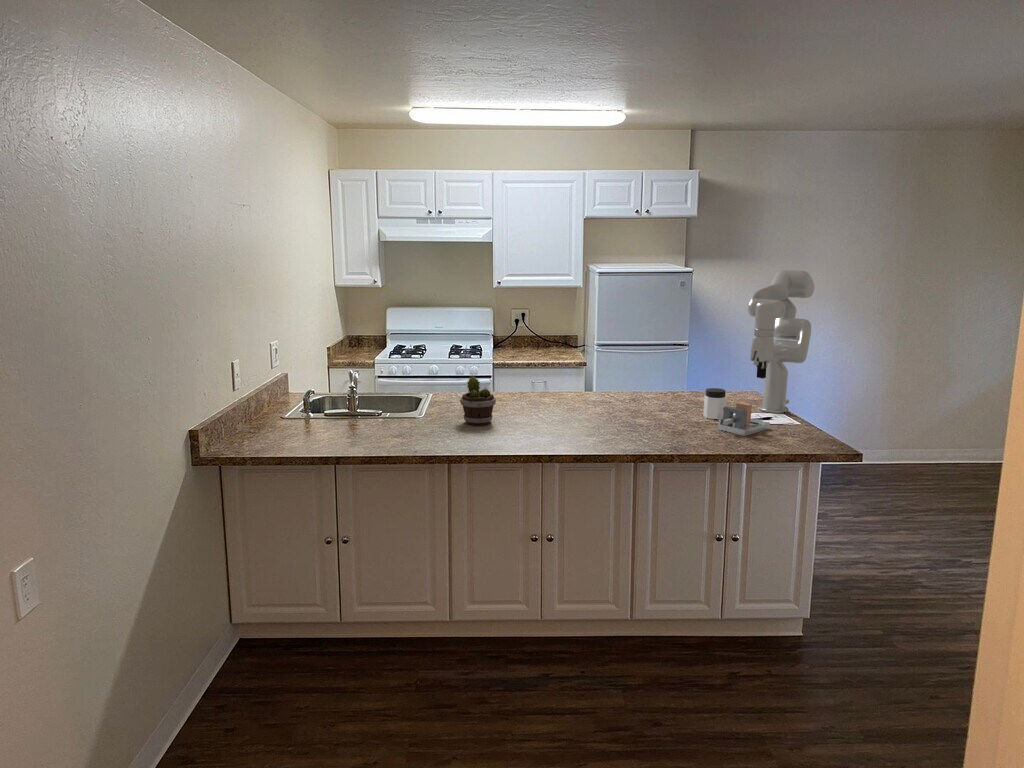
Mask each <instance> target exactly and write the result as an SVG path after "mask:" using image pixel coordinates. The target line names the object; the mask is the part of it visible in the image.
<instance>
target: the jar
mask: <svg viewBox="0 0 1024 768" xmlns="http://www.w3.org/2000/svg"><path fill="white" fill-rule="evenodd" d="M726 394H727V393H726V390H725V389H723V388H719V387H718V388H717V387H710V388H709V387H708V388H706V389H705V394H704V397H703V398H704V401H703V414H702V415H703V417H704V418H705V419H707V418H708V419H707V420H714V419H717V421H718V419H721V418H723V411H724V410H723V407H726V403H727V396H726Z"/></svg>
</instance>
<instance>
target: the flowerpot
mask: <svg viewBox="0 0 1024 768" xmlns="http://www.w3.org/2000/svg"><path fill="white" fill-rule="evenodd" d="M473 374H474V373H472V375H470V376H469V378H468V379H467V381H466V382H465V383H466V384H467V385H466V388H467V390H466V391H467V392H465V394H462V396H461V397H460V400H459V402H460V405H461V406H462V409H463V419H464V422H465V423H466V424H467V425H470V426H485V425H488V424H490V423H491V422H492V420H493V410H494V405H495V404H496V402H497V401H496V400H497V399H496V397H495V396H494V394H491V390H489V388H487V387H486V386H485V387H484V388H483V389H481V385H480V384H481V383H480V379H479V378H476V377H477V376H475V375H473Z"/></svg>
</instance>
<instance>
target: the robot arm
mask: <svg viewBox="0 0 1024 768" xmlns="http://www.w3.org/2000/svg"><path fill="white" fill-rule="evenodd" d="M814 292H815V283H814V280H813V278H812V276H811V274H810V273H809V272H807V271H806V270H805V271H804V270H794V269H792V270H791V269H790V270H789V269H788V270H787V269H785V270H779V271H778V272H777V273H776V274H775V275H774V277H773V278H772V281H771V283H770V285H768V286H765V287H763V288H761V289H759V290H757V291H755V292H754V293H753V295H752V296H751V298H750V300H749V302H748V305H747V312H748V315H749V316H750V317H753V318H754V319H755V320H754V331H753V339H752V343H751V349H750V356H749V357H750V361H752V362H753V366H755V367H756V378H757V379H764V384H763V397H762V404H760V405H759V406H758V410H759V411H762V412H765V413H772V414H786V413H788V412H789V410H790V408H789V407H787V406H786V405H788V404H790V399H787V389H788V376H789V371H788V369H787V367H786V365H785V363H792V364H803V363H804V362H805V361H806V360H807V357H808V356H807V355H808V351H809V345H810V340H811V334H812V324H811V322H810V321H809V319H805V318H796V316H797V307H796V305H795V303H794V302H793V301H792V300H791V298H796V299H797V298H799V299H807V298H808V299H809V298H811V297H812V296H813V295H814ZM775 338H776V339H775ZM784 412H785V413H784Z"/></svg>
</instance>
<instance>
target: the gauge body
mask: <svg viewBox="0 0 1024 768" xmlns="http://www.w3.org/2000/svg"><path fill="white" fill-rule="evenodd" d="M723 410H724V411H723V418H721V419H719V420H717V421H718V423H717V430H718V429H719V430H718V431H721V430H723V431H722V432H725V431H727V432H726V433H729V432H731V433H730V434H733V433H734V434H733V435H739V436H742V437H747V436H748V435H752V434H757V433H759V432H762V431H765V430H769V429H770V425H771V422H769V421H764V420H758V419H754V418H751V421H752V422H757V423H759V424H758V425H756V424H752V423H750V424H748V425H745V415H746V410H744V409H739V408H736V407H733V406H729V405H727V406H726V405H725V407H723ZM733 417H735V423H731V424H728V425H725V424H723V420H725V419H729V418H733ZM751 421H750V422H751Z"/></svg>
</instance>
